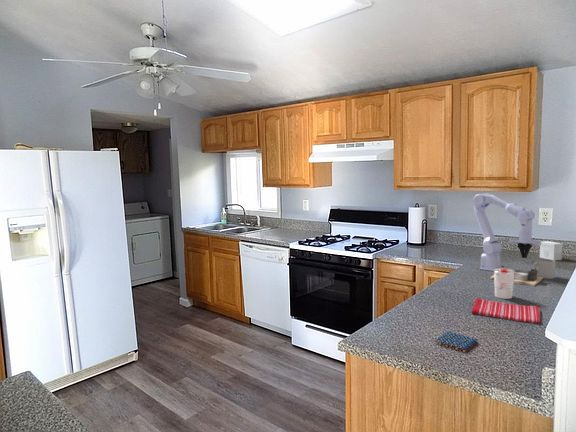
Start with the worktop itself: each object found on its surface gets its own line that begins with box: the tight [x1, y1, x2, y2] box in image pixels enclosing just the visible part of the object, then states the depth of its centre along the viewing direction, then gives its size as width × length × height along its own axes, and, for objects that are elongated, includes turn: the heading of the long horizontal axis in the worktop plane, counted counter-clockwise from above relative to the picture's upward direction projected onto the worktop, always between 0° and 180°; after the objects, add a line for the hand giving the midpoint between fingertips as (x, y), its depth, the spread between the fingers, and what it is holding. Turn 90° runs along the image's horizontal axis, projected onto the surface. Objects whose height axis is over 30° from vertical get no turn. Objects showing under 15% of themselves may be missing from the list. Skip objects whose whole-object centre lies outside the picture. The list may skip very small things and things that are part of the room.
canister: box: [493, 268, 515, 300], centre depth 176 cm, size 10×8×12 cm
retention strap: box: [500, 266, 529, 273], centre depth 203 cm, size 16×3×2 cm, turn 45°
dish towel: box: [471, 298, 541, 325], centre depth 157 cm, size 17×24×3 cm
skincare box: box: [539, 240, 563, 261], centre depth 246 cm, size 10×6×10 cm, turn 14°
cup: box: [532, 258, 557, 280], centre depth 207 cm, size 7×10×9 cm
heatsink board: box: [489, 265, 544, 287], centre depth 203 cm, size 20×16×6 cm
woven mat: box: [434, 331, 479, 353], centre depth 131 cm, size 10×11×2 cm
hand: (524, 257), depth 209 cm, fingers closed
